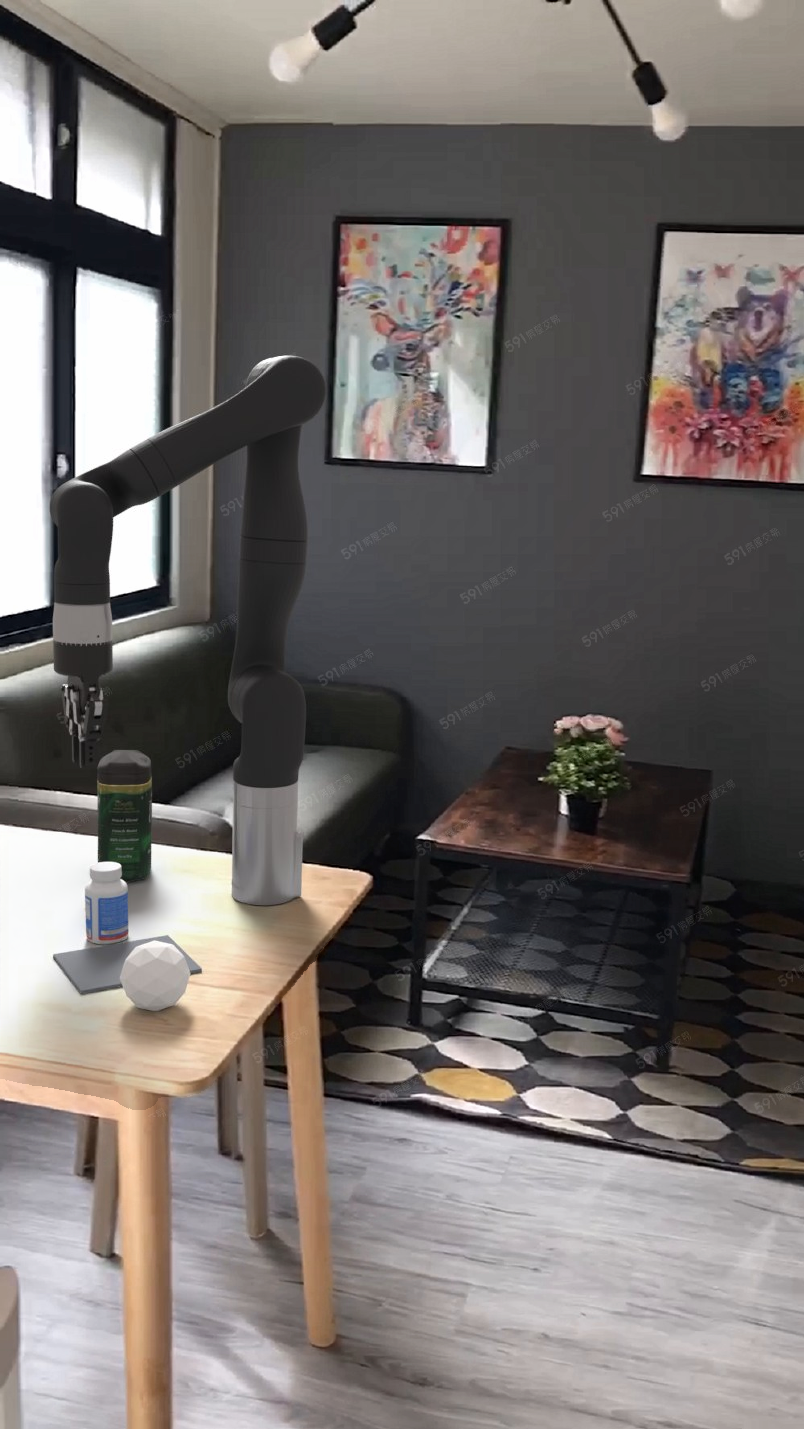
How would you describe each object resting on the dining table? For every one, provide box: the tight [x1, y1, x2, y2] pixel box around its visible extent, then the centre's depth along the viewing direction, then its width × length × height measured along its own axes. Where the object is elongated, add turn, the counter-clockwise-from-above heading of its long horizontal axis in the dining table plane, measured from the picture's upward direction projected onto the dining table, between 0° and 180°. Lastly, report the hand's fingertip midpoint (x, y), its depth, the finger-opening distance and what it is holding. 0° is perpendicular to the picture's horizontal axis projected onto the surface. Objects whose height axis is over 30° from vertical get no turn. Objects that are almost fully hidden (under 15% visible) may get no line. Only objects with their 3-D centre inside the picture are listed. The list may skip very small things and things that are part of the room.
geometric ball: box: [120, 940, 191, 1012], centre depth 144 cm, size 8×8×8 cm
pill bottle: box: [84, 862, 129, 945], centre depth 163 cm, size 6×5×10 cm
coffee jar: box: [96, 749, 153, 884], centre depth 187 cm, size 10×8×19 cm
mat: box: [52, 934, 203, 995], centre depth 156 cm, size 15×12×1 cm
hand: (84, 764), depth 167 cm, fingers open, 3 cm apart
